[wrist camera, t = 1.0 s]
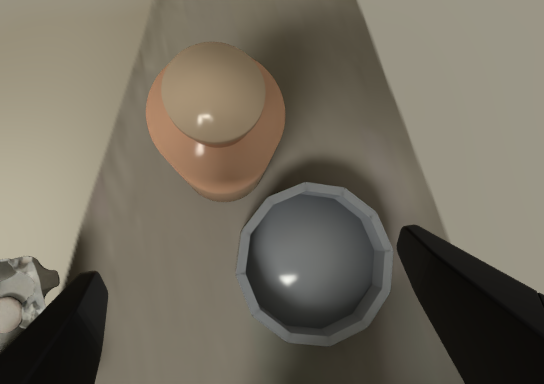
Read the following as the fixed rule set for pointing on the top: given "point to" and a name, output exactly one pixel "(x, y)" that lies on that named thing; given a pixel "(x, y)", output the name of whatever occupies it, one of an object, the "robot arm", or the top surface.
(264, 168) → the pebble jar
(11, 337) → the egg carton
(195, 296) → the top surface
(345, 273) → the slate bowl
